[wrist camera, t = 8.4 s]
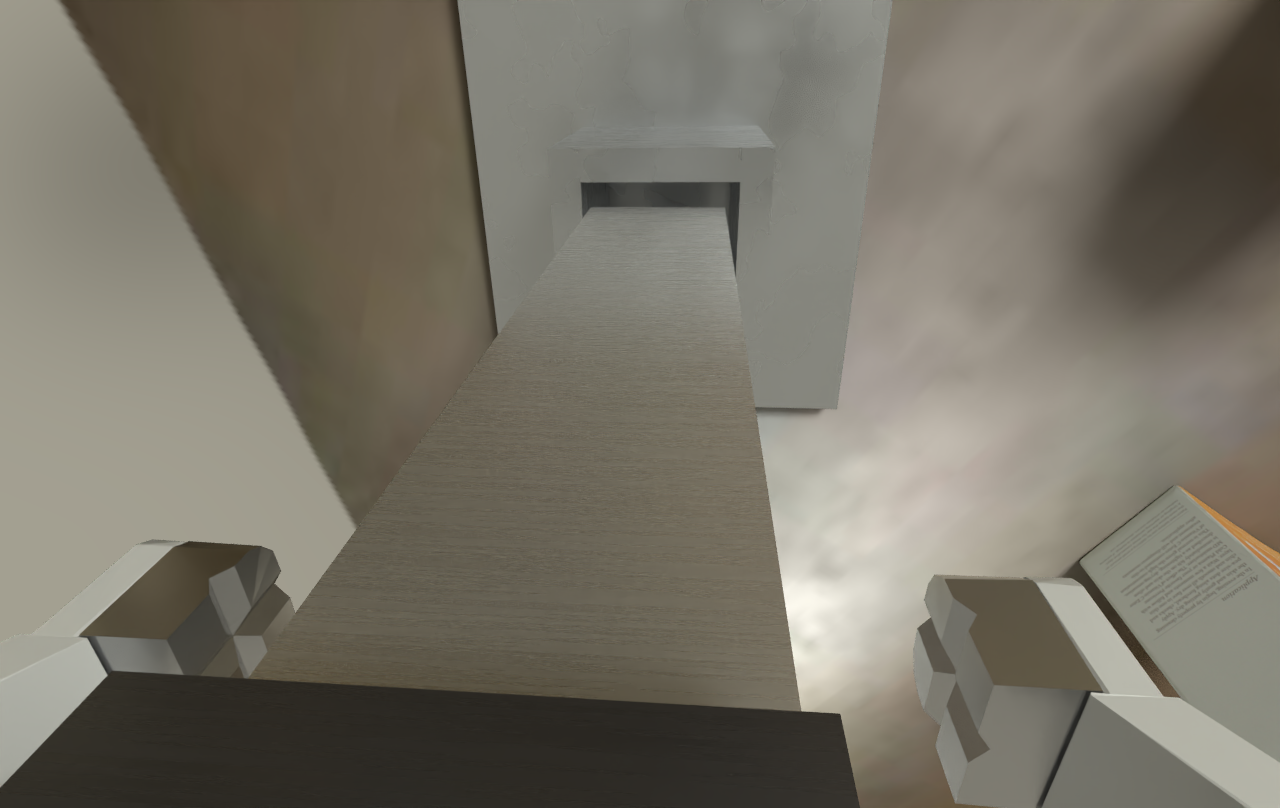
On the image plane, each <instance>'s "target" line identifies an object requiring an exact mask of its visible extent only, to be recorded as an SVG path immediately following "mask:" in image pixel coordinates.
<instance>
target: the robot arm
mask: <svg viewBox="0 0 1280 808" xmlns="http://www.w3.org/2000/svg"><path fill="white" fill-rule="evenodd" d="M280 572H281V570H280V567H279V565H278V562H277V560H276V557H275V555H274V553H273V551H272V550H270V549H267V548H264V547H262V546H251V545H237V544H221V543H207V542H193V541H189V542H180V541H166V540H150V541H147V542H143V543H140V544H136V545H135V546H134V547H133V548H132V549H131V550H130V551H128V552H127V553H126V554H125V555H124V556H123V557H121V558H120V559H119V560H118V561H117V562H115V563H114V564H113V565H112V566H111V567H110V568H108V569H107V570H106V571H105V572H104V573H103V574H101V575H100V576H99V577H98V578H97V579H96V580H94V582H92V583H91V584H90V585H89V586H87V587H86V588H85V589H84V590H83V591H82V592H80V593H79V594H78V595H77V596H76V597H75V598H73V599H72V600H71V601H70V602H69V603H68V604H66V605H65V606H64V607H63V608H62V609H61V610H59V611H58V612H57V613H56V614H55V615H53V616H52V617H51V618H50V619H49V620H48V621H46V622H45V623H44V624H43V625H42V626H41V627H39V628H38V629H37V630H36V631H35V632H34V633H32V634H31V635H27V634H18V635H15V636H13V637H11V638H9V639H7V640H5V641H2V642H0V787H1V786H2V785H3V784H4V783H5V782H6V781H7V780H8V779H9V778H10V777H11V776H12V775H13V774H14V773H15V772H16V771H17V769H18V768H19V767H20V766H21V765H22V764H23V763H24V762H25V761H26V760H27V759H28V758H29V757H30V756H31V755H32V754H33V753H34V752H35V751H36V750H37V749H38V748H39V746H40V745H41V744H42V743H43V742H44V741H45V740H46V739H47V738H48V737H49V736H50V735H51V734H52V733H53V732H54V731H55V730H56V729H57V728H58V727H59V726H60V725H61V724H62V722H63V721H64V720H65V719H66V718H67V717H68V716H69V715H70V714H71V713H72V712H73V711H74V710H75V709H76V708H77V707H78V706H79V705H80V704H81V703H82V702H83V701H84V699H85V698H86V697H87V696H88V695H89V694H90V693H91V692H92V691H93V690H94V689H95V688H96V687H97V686H98V685H99V684H100V683H101V682H102V681H103V680H104V679H105V678H106V677H107V675H108V674H109V673H110V672H111V671H128V672H145V673H162V674H178V675H195V676H212V677H229V678H246V679H248V678H249V676H250V675H251V674H252V672H253V671H254V669H255V668H256V667H257V665H258V664H259V663H260V661H261V660H262V659H263V657H264V656H265V654H266V653H267V652H268V650H269V649H270V648H271V646H272V645H273V643H274V642H275V641H276V639H277V638H278V637H279V635H280V634H281V632H282V631H283V630H284V628H285V627H286V626H287V624H288V623H289V621H290V620H291V619H292V617H293V616H294V615H295V611H294V608H293V605H292V602H291V599H290V597H289V596H288V595H287V594H285V593H284V592H283V591H282V590H281V589H280V588H279V587H277V586H276V585H275V584H274V583H275V581H276V579H277V578H278V576H279V574H280ZM924 601H925V603H926V606H927V609H928V611H929V614H930V616H931V618H930V619H928V620H927V621H926V622H925V623H923V624H922V625H921V626H920V627H918V628H917V633H916V638H915V643H914V649H913V658H914V676H915V682H916V687H917V692H918V695H919V698H920V701H921V704H922V707H923V710H924V711H925V712H926V713H927V714H928V715H929V716H930V717H931V718H932V719H933V720H935V721H936V722H937V723H938V724H939V725H940V726H941V727H940V731H939V735H938V738H937V742H936V749H937V752H938V755H939V757H940V760H941V763H942V766H943V769H944V772H945V775H946V778H947V780H948V783H949V786H950V789H951V792H952V795H953V798H954V801H955V803H959V804H969V805H979V806H990V807H1000V808H1280V763H1279V762H1278V761H1276V760H1275V759H1273V758H1272V757H1270V756H1269V755H1267V754H1265V753H1264V752H1262V751H1261V750H1259V749H1258V748H1256V747H1255V746H1253V745H1252V744H1250V743H1248V742H1247V741H1245V740H1244V739H1242V738H1241V737H1239V736H1238V735H1236V734H1235V733H1233V732H1231V731H1230V730H1228V729H1227V728H1225V727H1224V726H1222V725H1221V724H1219V723H1218V722H1216V721H1214V720H1213V719H1211V718H1210V717H1208V716H1207V715H1205V714H1204V713H1202V712H1201V711H1199V710H1197V709H1196V708H1194V707H1193V706H1191V705H1190V704H1188V703H1187V702H1185V701H1183V700H1182V699H1180V698H1173V697H1163V695H1162V694H1161V693H1160V691H1159V690H1158V688H1157V687H1156V686H1155V684H1154V683H1153V682H1152V680H1151V679H1150V677H1149V676H1148V675H1147V673H1146V672H1145V671H1144V669H1143V668H1142V666H1141V665H1140V664H1139V662H1138V661H1137V660H1136V658H1135V657H1134V655H1133V654H1132V653H1131V651H1130V650H1129V649H1128V647H1127V646H1126V644H1125V643H1124V642H1123V640H1122V639H1121V638H1120V636H1119V635H1118V633H1117V632H1116V631H1115V629H1114V628H1113V627H1112V625H1111V624H1110V622H1109V621H1108V620H1107V618H1106V617H1105V616H1104V614H1103V613H1102V612H1101V610H1100V609H1099V607H1098V606H1097V605H1096V603H1095V602H1094V601H1093V599H1092V598H1091V596H1090V595H1089V594H1088V592H1087V591H1086V590H1085V588H1084V587H1083V586H1082V585H1081V584H1080V583H1078V582H1077V581H1075V580H1074V579H1072V578H1048V577H1024V578H1017V577H988V576H960V575H934V576H933V578H932V579H931V581H930V582H929V584H928V587H927V591H926V595H925V599H924Z"/></svg>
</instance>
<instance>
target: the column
mask: <svg viewBox="0 0 1280 808" xmlns="http://www.w3.org/2000/svg"><path fill="white" fill-rule="evenodd" d="M0 808H860V806H859V801H858V796H857V792H856V787H855V782H854V777H853V773H852V768H851V763H850V758H849V754H848V749H847V744H846V739H845V735H844V730H843V725H842V720H841V715H840V714H835V713H818V712H801V706H800V700H799V693H798V687H797V680H796V673H795V667H794V660H793V654H792V647H791V640H790V634H789V627H788V621H787V614H786V607H785V601H784V594H783V588H782V581H781V574H780V568H779V561H778V555H777V548H776V541H775V535H774V528H773V522H772V515H771V508H770V502H769V495H768V489H767V482H766V475H765V469H764V462H763V456H762V449H761V442H760V436H759V429H758V423H757V416H756V409H755V403H754V396H753V390H752V383H751V376H750V370H749V363H748V357H747V350H746V343H745V337H744V330H743V324H742V317H741V310H740V304H739V297H738V291H737V284H736V277H735V271H734V264H733V258H732V251H731V244H730V238H729V231H728V225H727V218H726V211H725V207H591V208H590V209H589V210H588V212H587V213H586V215H585V216H584V217H583V219H582V220H581V221H580V223H579V224H578V226H577V227H576V228H575V230H574V231H573V232H572V234H571V235H570V237H569V238H568V239H567V241H566V242H565V243H564V245H563V246H562V248H561V249H560V250H559V252H558V253H557V254H556V256H555V257H554V259H553V260H552V261H551V263H550V264H549V265H548V267H547V268H546V270H545V271H544V272H543V274H542V275H541V276H540V278H539V279H538V280H537V282H536V283H535V285H534V286H533V287H532V289H531V290H530V291H529V293H528V294H527V296H526V297H525V298H524V300H523V301H522V302H521V304H520V305H519V307H518V308H517V309H516V311H515V312H514V313H513V315H512V316H511V318H510V319H509V320H508V322H507V323H506V324H505V326H504V327H503V329H502V330H501V331H500V333H499V334H498V335H497V337H496V338H495V340H494V341H493V342H492V344H491V345H490V346H489V348H488V349H487V351H486V352H485V353H484V355H483V356H482V357H481V359H480V360H479V362H478V363H477V364H476V366H475V367H474V368H473V370H472V371H471V373H470V374H469V375H468V377H467V378H466V379H465V381H464V382H463V384H462V385H461V386H460V388H459V389H458V390H457V392H456V393H455V395H454V396H453V397H452V399H451V400H450V401H449V403H448V404H447V406H446V407H445V408H444V410H443V411H442V412H441V414H440V415H439V417H438V418H437V419H436V421H435V422H434V423H433V425H432V426H431V428H430V429H429V430H428V432H427V433H426V434H425V436H424V437H423V439H422V440H421V441H420V443H419V444H418V445H417V447H416V448H415V450H414V451H413V452H412V454H411V455H410V456H409V458H408V459H407V461H406V462H405V463H404V465H403V466H402V467H401V469H400V470H399V472H398V473H397V474H396V476H395V477H394V478H393V480H392V481H391V483H390V484H389V485H388V487H387V488H386V489H385V491H384V492H383V494H382V495H381V496H380V498H379V499H378V500H377V502H376V503H375V505H374V506H373V507H372V509H371V510H370V511H369V513H368V514H367V516H366V517H365V518H364V520H363V521H362V522H361V524H360V525H359V527H358V528H357V529H356V531H355V532H354V534H353V535H352V536H351V538H350V539H349V540H348V542H347V543H346V544H345V546H344V547H343V549H342V550H341V552H340V553H339V554H338V555H337V557H336V558H335V560H334V561H333V562H332V564H331V565H330V566H329V568H328V569H327V571H326V572H325V573H324V575H323V576H322V577H321V579H320V580H319V582H318V583H317V584H316V586H315V587H314V589H313V590H312V591H311V593H310V594H309V596H308V597H307V598H306V600H305V601H304V602H303V604H302V605H301V606H300V608H299V609H298V610H297V612H296V613H295V615H294V616H293V617H292V619H291V620H290V621H289V623H288V624H287V626H286V627H285V628H284V630H283V631H282V632H281V634H280V635H279V637H278V638H277V639H276V641H275V642H274V643H273V645H272V646H271V648H270V649H269V650H268V652H267V653H266V654H265V656H264V657H263V659H262V660H261V661H260V663H259V664H258V665H257V667H256V668H255V669H254V671H253V672H252V674H251V675H250V676H249V678H248V679H246V678H229V677H212V676H195V675H178V674H162V673H145V672H128V671H111V672H110V673H109V674H108V675H107V677H106V678H105V679H104V680H103V681H102V682H101V683H100V684H99V685H98V686H97V687H96V688H95V689H94V690H93V691H92V692H91V693H90V694H89V695H88V696H87V697H86V698H85V699H84V701H83V702H82V703H81V704H80V705H79V706H78V707H77V708H76V709H75V710H74V711H73V712H72V713H71V714H70V715H69V716H68V717H67V718H66V719H65V720H64V721H63V722H62V724H61V725H60V726H59V727H58V728H57V729H56V730H55V731H54V732H53V733H52V734H51V735H50V736H49V737H48V738H47V739H46V740H45V741H44V742H43V743H42V744H41V745H40V746H39V748H38V749H37V750H36V751H35V752H34V753H33V754H32V755H31V756H30V757H29V758H28V759H27V760H26V761H25V762H24V763H23V764H22V765H21V766H20V767H19V768H18V769H17V771H16V772H15V773H14V774H13V775H12V776H11V777H10V778H9V779H8V780H7V781H6V782H5V783H4V784H3V785H2V786H1V787H0Z"/></svg>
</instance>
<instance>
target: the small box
mask: <svg viewBox="0 0 1280 808" xmlns="http://www.w3.org/2000/svg"><path fill="white" fill-rule="evenodd" d="M1080 565H1081V566H1082V567H1083V569H1084V570H1085V571H1086V573H1087V574H1088V575H1089V576H1090V578H1091V579H1092V580H1093V582H1094V583H1095V584H1096V586H1097V587H1098V588H1099V590H1100V591H1101V592H1102V594H1103V595H1104V596H1105V597H1106V599H1107V600H1108V601H1109V603H1110V604H1111V605H1112V607H1113V608H1114V609H1115V611H1116V612H1117V613H1118V615H1119V616H1120V617H1121V619H1122V620H1123V621H1124V623H1125V624H1126V625H1127V627H1128V628H1129V629H1130V631H1131V632H1132V633H1133V635H1134V636H1135V637H1136V639H1137V640H1138V641H1139V643H1140V644H1141V645H1142V647H1143V648H1144V650H1145V651H1146V652H1147V654H1148V655H1149V656H1150V658H1151V659H1152V660H1153V662H1154V663H1155V664H1156V665H1157V667H1158V668H1159V669H1160V671H1161V672H1162V673H1163V675H1164V676H1165V677H1166V679H1167V680H1168V681H1169V683H1170V684H1171V685H1172V686H1173V688H1174V689H1175V690H1176V692H1177V693H1178V694H1179V696H1180V697H1181V698H1182V700H1183V701H1185V702H1187V703H1188V704H1190V705H1191V706H1193V707H1194V708H1196V709H1197V710H1199V711H1201V712H1202V713H1204V714H1205V715H1207V716H1208V717H1210V718H1211V719H1213V720H1214V721H1216V722H1218V723H1219V724H1221V725H1222V726H1224V727H1225V728H1227V729H1228V730H1230V731H1231V732H1233V733H1235V734H1236V735H1238V736H1239V737H1241V738H1242V739H1244V740H1245V741H1247V742H1248V743H1250V744H1252V745H1253V746H1255V747H1256V748H1258V749H1259V750H1261V751H1262V752H1264V753H1265V754H1267V755H1269V756H1270V757H1272V758H1273V759H1275V760H1276V761H1278V762H1279V763H1280V554H1279V553H1278V552H1276V551H1274V550H1273V549H1271V548H1269V547H1268V546H1266V545H1265V544H1263V543H1261V542H1260V541H1258V540H1257V539H1255V538H1254V537H1252V536H1251V535H1249V534H1248V533H1246V532H1245V531H1244V530H1242V529H1241V528H1239V527H1237V526H1236V525H1234V524H1233V523H1231V522H1230V521H1228V520H1227V519H1226V518H1224V517H1223V516H1221V515H1220V514H1218V513H1217V512H1216V511H1214V510H1213V509H1211V508H1210V507H1208V506H1207V505H1206V504H1204V503H1203V502H1201V501H1200V500H1199V499H1197V498H1196V497H1194V496H1193V495H1191V494H1190V493H1189V492H1187V491H1186V490H1185V489H1183V488H1182V487H1180V486H1173V487H1172V488H1170V489H1169V490H1168V491H1167V492H1165V493H1164V494H1163V495H1162V496H1160V497H1159V498H1158V499H1157V500H1155V501H1154V502H1153V503H1152V504H1150V505H1149V506H1148V507H1147V508H1145V509H1144V510H1143V511H1142V512H1140V513H1139V514H1138V515H1137V516H1135V517H1134V518H1133V519H1132V520H1130V521H1129V522H1128V523H1126V524H1125V525H1124V526H1123V527H1121V528H1120V529H1119V530H1117V531H1116V532H1115V533H1113V534H1112V535H1111V536H1109V537H1108V538H1107V539H1106V540H1104V541H1103V542H1102V543H1101V544H1099V545H1098V546H1097V547H1096V548H1094V549H1093V550H1092V551H1091V552H1090V553H1088V554H1087V555H1086V556H1085V557H1083V558H1082V559H1081V560H1080Z"/></svg>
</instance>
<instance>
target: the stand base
mask: <svg viewBox="0 0 1280 808" xmlns="http://www.w3.org/2000/svg"><path fill="white" fill-rule="evenodd" d="M891 7H892V0H458V9H459V17H460V25H461V33H462V42H463V50H464V58H465V66H466V75H467V83H468V91H469V99H470V108H471V116H472V124H473V132H474V141H475V149H476V157H477V165H478V174H479V182H480V190H481V198H482V207H483V215H484V223H485V231H486V240H487V248H488V256H489V264H490V272H491V281H492V289H493V297H494V305H495V314H496V322H497V330H498V334H499V333H500V331H501V330H502V329H503V327H504V326H505V324H506V323H507V322H508V320H509V319H510V318H511V316H512V315H513V313H514V312H515V311H516V309H517V308H518V307H519V305H520V304H521V302H522V301H523V300H524V298H525V297H526V296H527V294H528V293H529V291H530V290H531V289H532V287H533V286H534V285H535V283H536V282H537V280H538V279H539V278H540V276H541V275H542V274H543V272H544V271H545V270H546V268H547V267H548V265H549V264H550V263H551V261H552V260H553V259H554V257H555V256H556V254H557V253H558V252H559V250H560V249H561V248H562V246H563V245H564V243H565V242H566V241H567V239H568V238H569V237H570V235H571V234H572V232H573V231H574V230H575V228H576V227H577V226H578V224H579V223H580V221H581V220H582V219H583V217H584V216H585V215H586V213H587V212H588V210H589V209H590V208H591V207H725V211H726V218H727V225H728V231H729V238H730V244H731V251H732V258H733V264H734V271H735V277H736V284H737V291H738V297H739V304H740V310H741V317H742V324H743V330H744V337H745V343H746V350H747V357H748V363H749V370H750V376H751V383H752V390H753V396H754V403H755V407H771V408H812V409H837V405H838V397H839V390H840V383H841V375H842V368H843V361H844V353H845V346H846V338H847V331H848V324H849V316H850V309H851V302H852V294H853V287H854V280H855V272H856V265H857V258H858V250H859V243H860V235H861V228H862V221H863V213H864V206H865V199H866V191H867V184H868V177H869V169H870V162H871V154H872V147H873V140H874V132H875V125H876V118H877V110H878V103H879V96H880V88H881V81H882V74H883V66H884V59H885V51H886V44H887V37H888V29H889V22H890V15H891Z"/></svg>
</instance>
